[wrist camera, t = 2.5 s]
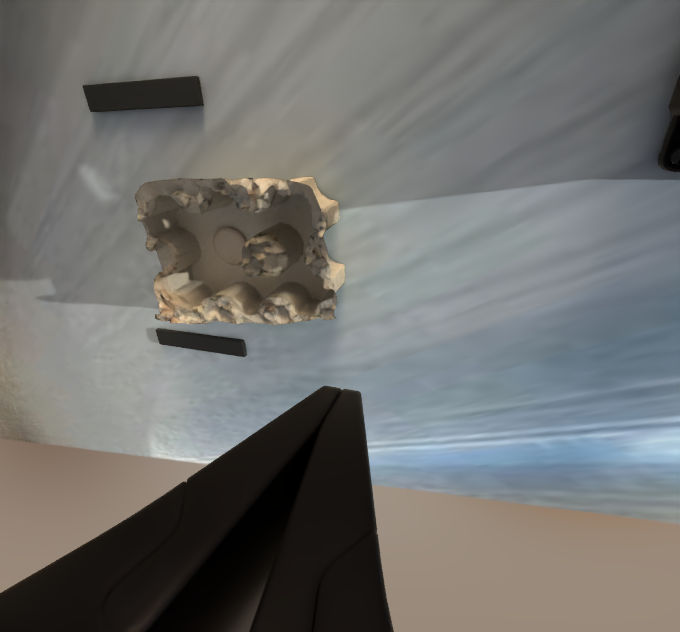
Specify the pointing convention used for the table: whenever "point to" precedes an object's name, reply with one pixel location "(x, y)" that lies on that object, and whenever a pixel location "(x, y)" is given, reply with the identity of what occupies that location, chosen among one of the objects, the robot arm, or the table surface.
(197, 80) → the bay strips
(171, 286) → the tan rough lump
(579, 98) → the table surface
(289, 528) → the robot arm
